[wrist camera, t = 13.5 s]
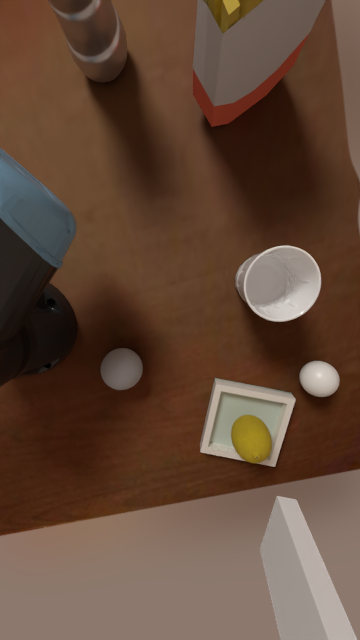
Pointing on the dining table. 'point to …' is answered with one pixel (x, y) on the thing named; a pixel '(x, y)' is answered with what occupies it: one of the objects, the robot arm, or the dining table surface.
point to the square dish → (244, 400)
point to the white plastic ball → (319, 378)
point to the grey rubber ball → (121, 369)
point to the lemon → (251, 439)
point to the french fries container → (245, 51)
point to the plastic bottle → (93, 36)
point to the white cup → (279, 283)
